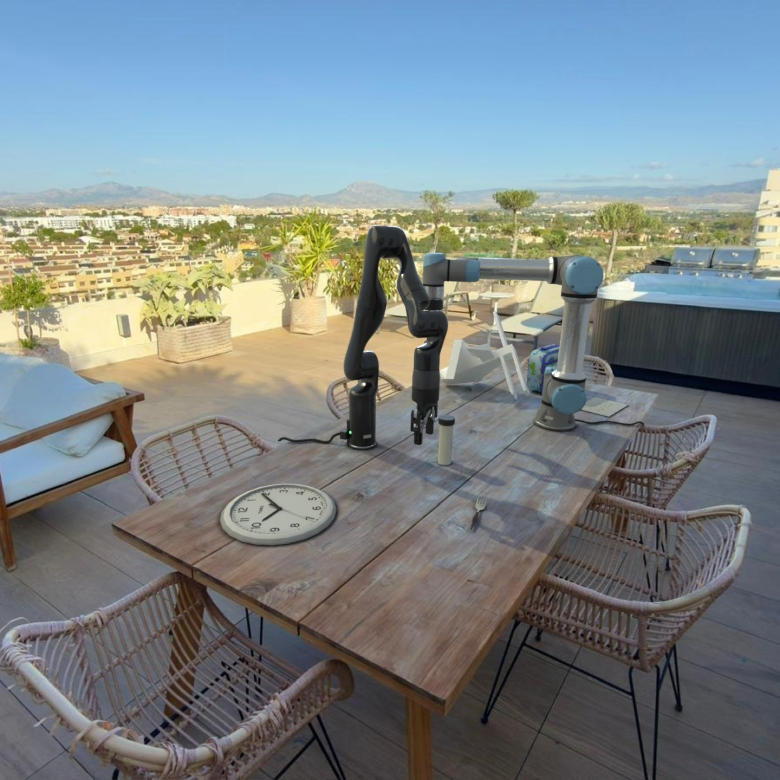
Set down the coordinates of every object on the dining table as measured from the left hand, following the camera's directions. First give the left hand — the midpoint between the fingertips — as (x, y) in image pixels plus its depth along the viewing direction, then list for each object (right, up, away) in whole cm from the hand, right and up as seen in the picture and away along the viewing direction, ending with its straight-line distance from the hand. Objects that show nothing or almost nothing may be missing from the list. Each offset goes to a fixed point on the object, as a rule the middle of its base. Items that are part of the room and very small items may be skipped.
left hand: (423, 439), depth 147 cm
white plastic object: (+32, +13, +96) cm, 102 cm away
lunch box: (+66, +14, +103) cm, 123 cm away
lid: (+9, +5, +18) cm, 21 cm away
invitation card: (+82, +7, +79) cm, 114 cm away
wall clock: (-39, -19, -9) cm, 44 cm away
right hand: (+5, +26, +42) cm, 50 cm away
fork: (+14, -20, -9) cm, 25 cm away
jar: (+8, -10, +23) cm, 26 cm away
